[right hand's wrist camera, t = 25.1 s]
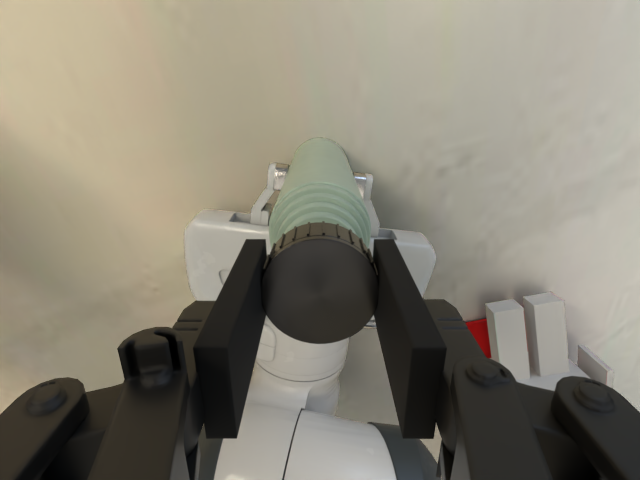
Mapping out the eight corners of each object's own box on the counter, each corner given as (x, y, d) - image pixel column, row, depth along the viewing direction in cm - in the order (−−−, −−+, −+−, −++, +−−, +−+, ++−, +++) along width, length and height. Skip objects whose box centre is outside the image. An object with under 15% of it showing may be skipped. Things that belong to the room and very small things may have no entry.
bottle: (328, 202, 37) (339, 361, 15) (282, 174, 36) (225, 301, 14) (358, 157, 35) (418, 263, 14) (311, 126, 34) (296, 189, 13)
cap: (344, 333, 16) (347, 361, 14) (248, 295, 15) (240, 320, 14) (394, 247, 14) (404, 268, 13) (291, 201, 14) (287, 216, 12)
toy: (634, 316, 30) (641, 597, 37) (543, 264, 43) (561, 479, 50) (478, 343, 31) (514, 611, 38) (435, 285, 44) (468, 492, 51)
